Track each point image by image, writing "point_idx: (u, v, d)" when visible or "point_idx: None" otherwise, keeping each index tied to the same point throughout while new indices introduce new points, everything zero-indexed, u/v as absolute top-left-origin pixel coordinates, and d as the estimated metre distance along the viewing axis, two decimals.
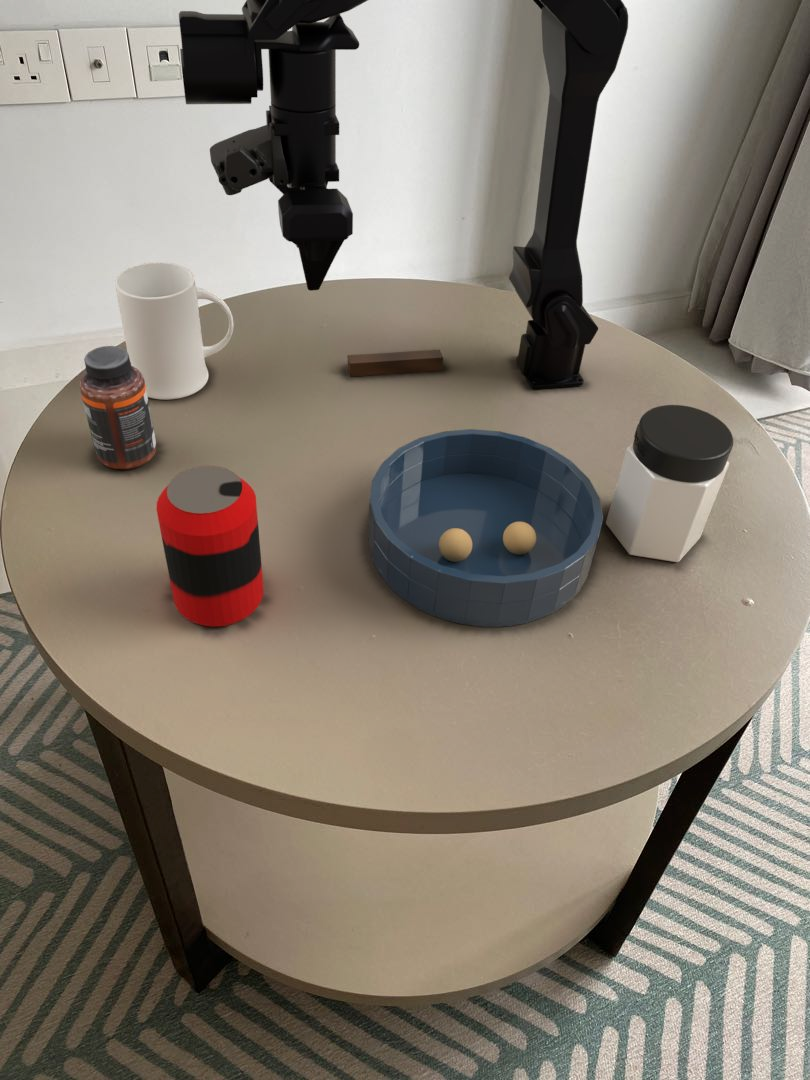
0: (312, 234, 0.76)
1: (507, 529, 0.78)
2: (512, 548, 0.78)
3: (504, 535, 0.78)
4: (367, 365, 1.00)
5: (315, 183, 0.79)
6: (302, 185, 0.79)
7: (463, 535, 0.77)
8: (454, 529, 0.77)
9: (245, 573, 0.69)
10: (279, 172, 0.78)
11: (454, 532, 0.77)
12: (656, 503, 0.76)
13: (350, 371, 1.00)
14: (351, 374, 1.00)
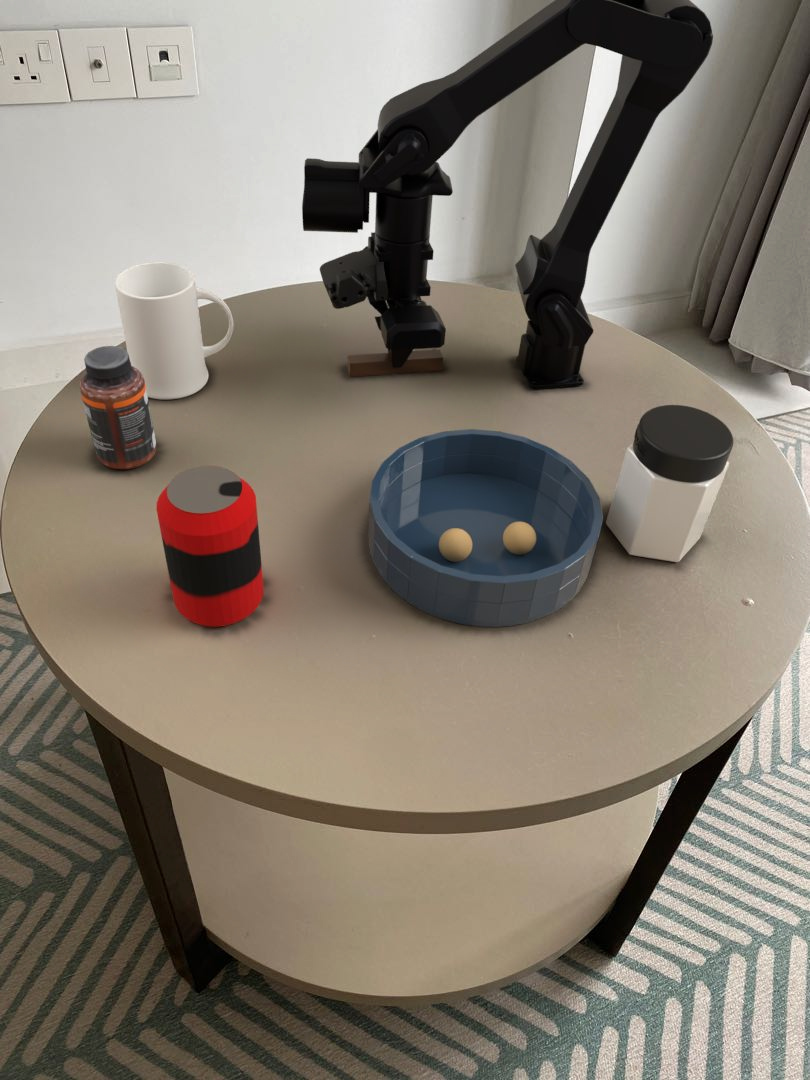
0: (411, 346, 0.89)
1: (507, 529, 0.78)
2: (512, 548, 0.78)
3: (504, 535, 0.78)
4: (367, 365, 1.00)
5: (410, 298, 0.93)
6: (399, 300, 0.93)
7: (463, 535, 0.77)
8: (454, 529, 0.77)
9: (245, 573, 0.69)
10: (381, 290, 0.91)
11: (454, 532, 0.77)
12: (656, 503, 0.76)
13: (350, 371, 1.00)
14: (351, 374, 1.00)
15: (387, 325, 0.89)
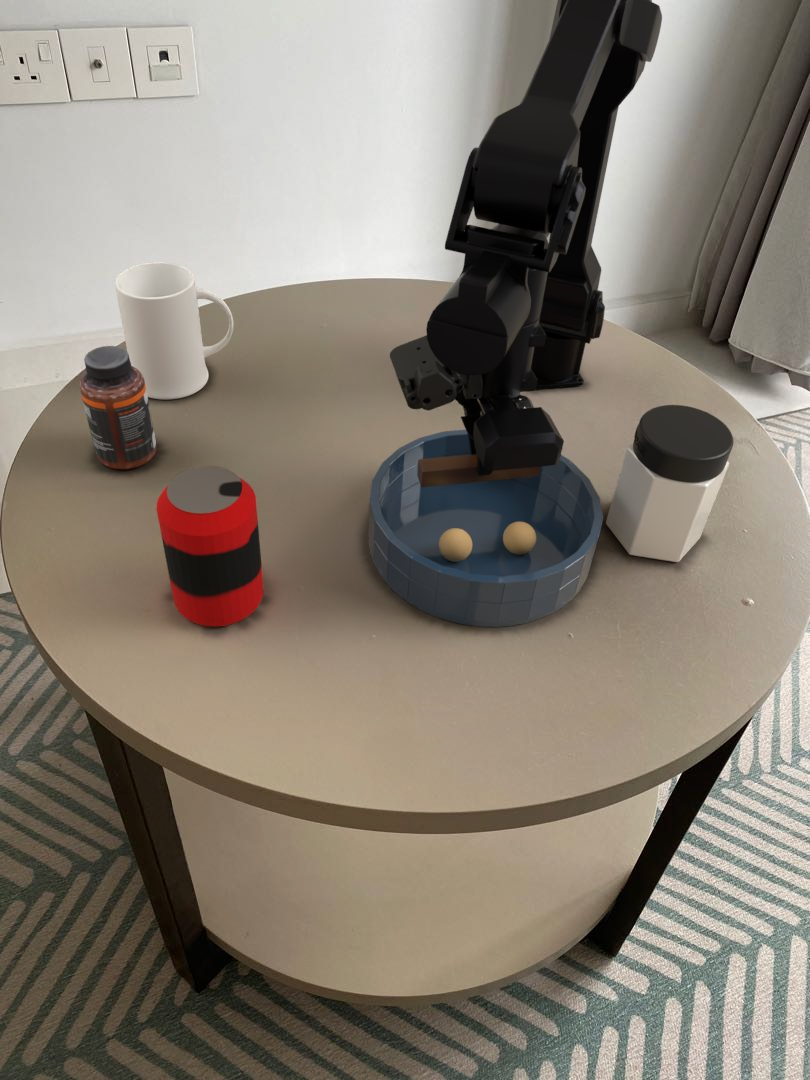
0: (517, 464, 0.66)
1: (507, 529, 0.78)
2: (512, 548, 0.78)
3: (504, 535, 0.78)
4: (444, 473, 0.77)
5: (510, 395, 0.70)
6: (496, 397, 0.70)
7: (463, 535, 0.77)
8: (454, 529, 0.77)
9: (245, 573, 0.69)
10: (473, 387, 0.68)
11: (454, 532, 0.77)
12: (656, 503, 0.76)
13: (422, 481, 0.77)
14: (423, 484, 0.77)
15: (486, 437, 0.66)
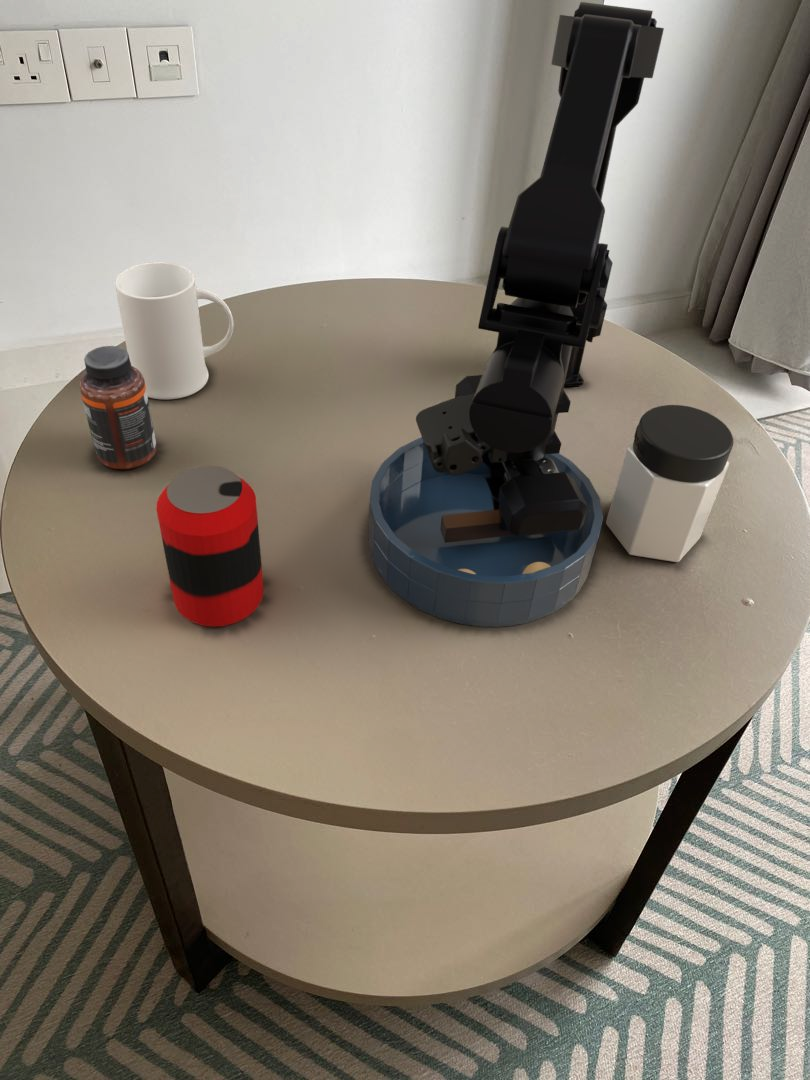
0: (542, 530, 0.67)
1: None
2: None
3: None
4: (468, 529, 0.78)
5: (534, 458, 0.71)
6: (520, 461, 0.71)
7: None
8: None
9: (245, 573, 0.69)
10: (499, 451, 0.69)
11: None
12: (656, 503, 0.76)
13: (446, 536, 0.78)
14: (447, 540, 0.78)
15: (512, 504, 0.67)
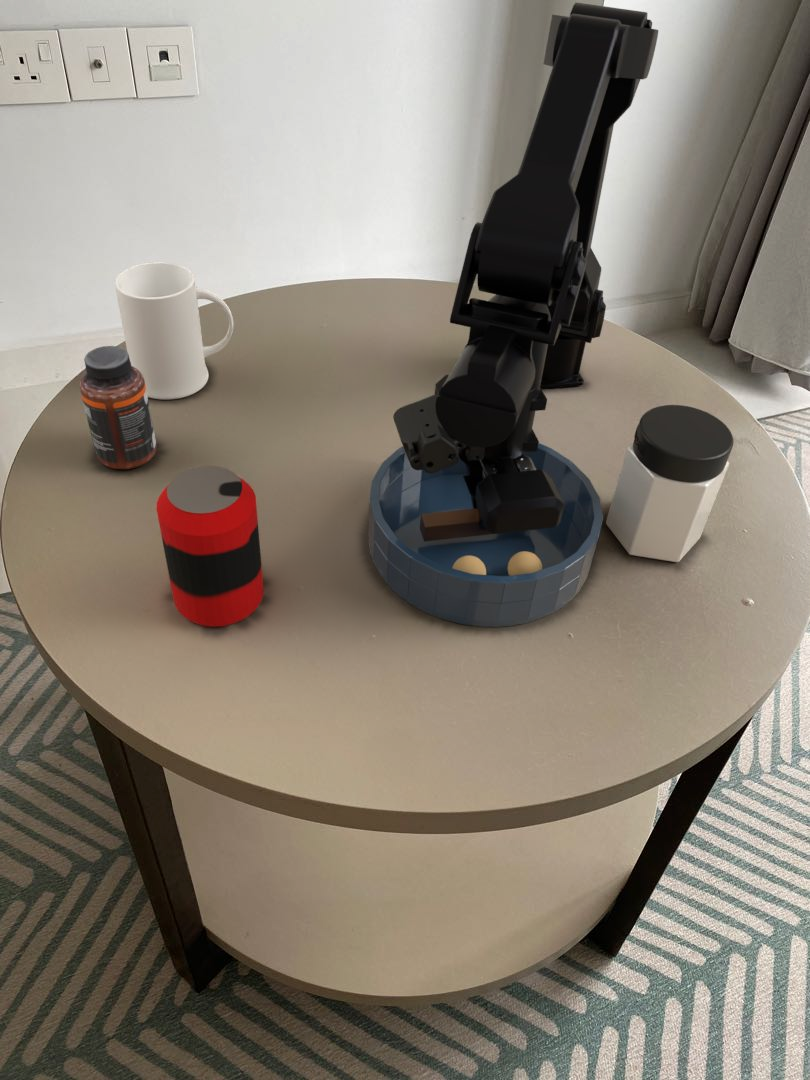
0: (519, 528, 0.67)
1: None
2: None
3: None
4: (447, 528, 0.78)
5: (512, 456, 0.71)
6: (498, 458, 0.71)
7: None
8: None
9: (245, 573, 0.69)
10: (476, 449, 0.69)
11: None
12: (656, 503, 0.76)
13: (425, 535, 0.78)
14: (426, 538, 0.78)
15: (488, 501, 0.67)
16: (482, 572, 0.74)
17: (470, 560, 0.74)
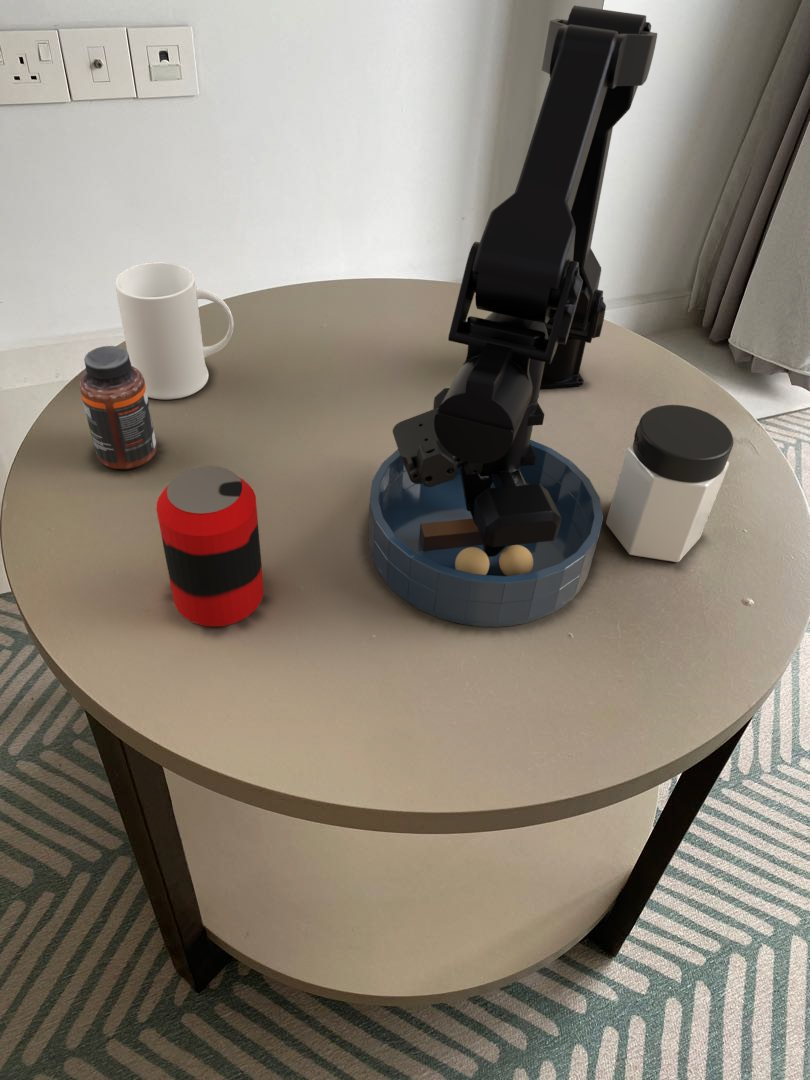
0: (517, 541, 0.68)
1: (516, 574, 0.76)
2: None
3: (509, 575, 0.76)
4: (446, 537, 0.79)
5: (510, 469, 0.72)
6: (496, 472, 0.72)
7: None
8: (468, 567, 0.75)
9: (245, 573, 0.69)
10: (474, 463, 0.70)
11: (463, 571, 0.75)
12: (656, 503, 0.76)
13: (424, 545, 0.79)
14: (425, 548, 0.79)
15: (486, 515, 0.68)
16: (487, 559, 0.76)
17: None
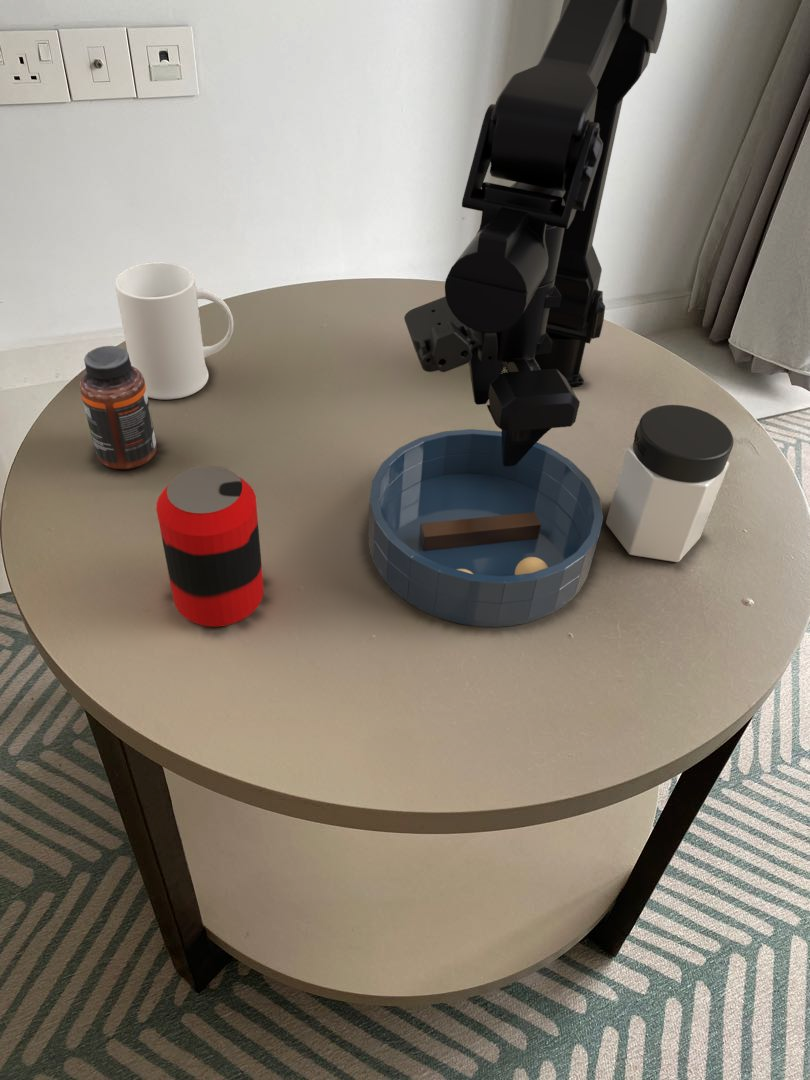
0: (533, 425, 0.66)
1: None
2: None
3: None
4: (446, 537, 0.79)
5: (525, 357, 0.70)
6: (511, 360, 0.69)
7: None
8: None
9: (245, 573, 0.69)
10: (488, 348, 0.68)
11: None
12: (656, 503, 0.76)
13: (424, 545, 0.79)
14: (425, 548, 0.79)
15: (502, 398, 0.65)
16: None
17: None
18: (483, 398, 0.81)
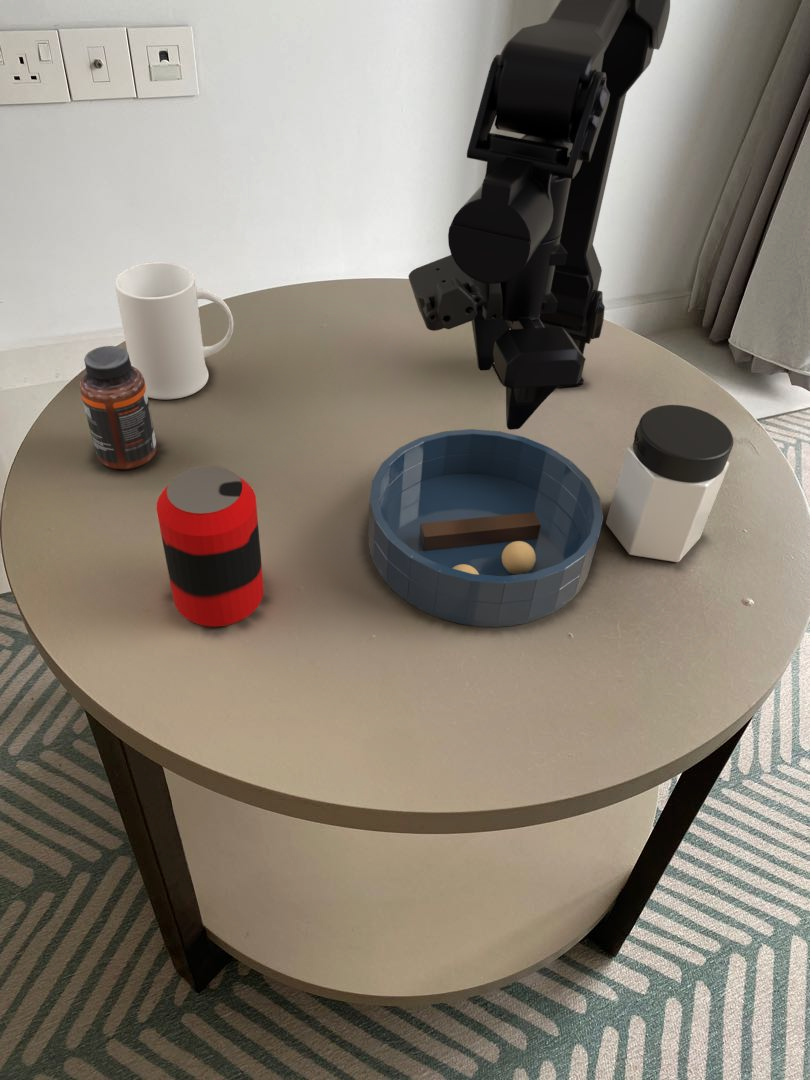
0: (538, 382, 0.66)
1: (514, 567, 0.76)
2: None
3: (508, 567, 0.76)
4: (446, 537, 0.79)
5: (530, 316, 0.69)
6: (516, 319, 0.69)
7: None
8: None
9: (245, 573, 0.69)
10: (493, 306, 0.68)
11: None
12: (656, 503, 0.76)
13: (424, 545, 0.79)
14: (425, 548, 0.79)
15: (507, 354, 0.65)
16: None
17: None
18: (487, 364, 0.80)
